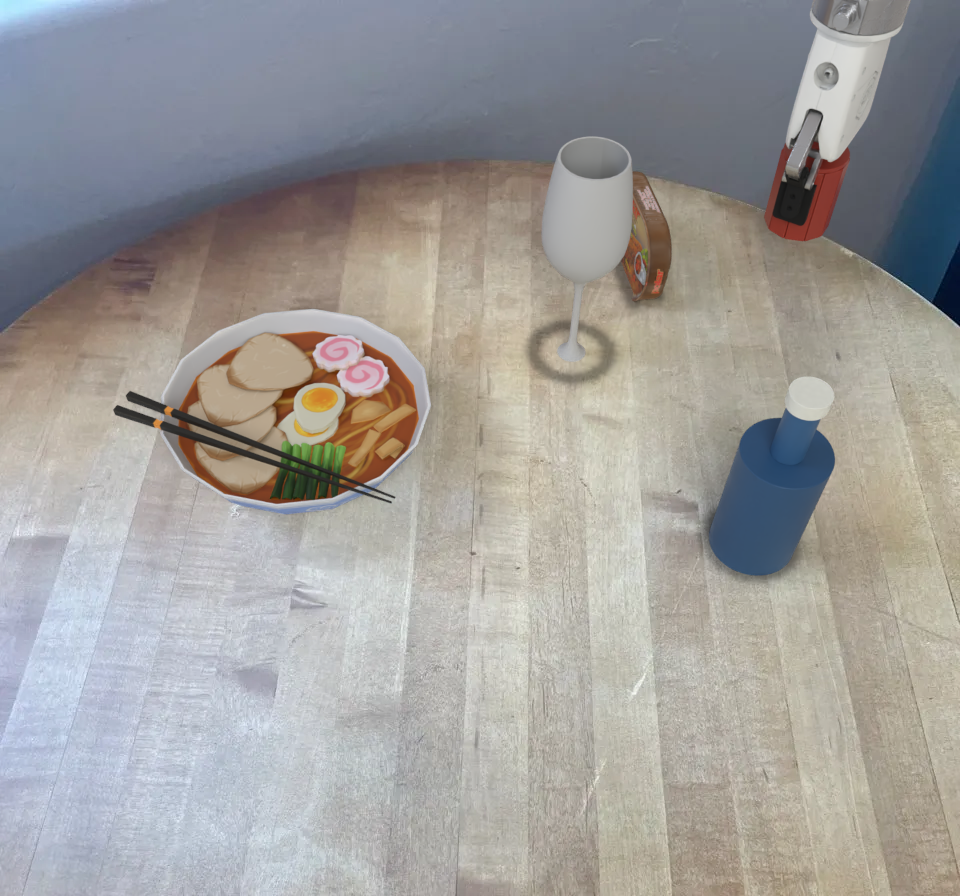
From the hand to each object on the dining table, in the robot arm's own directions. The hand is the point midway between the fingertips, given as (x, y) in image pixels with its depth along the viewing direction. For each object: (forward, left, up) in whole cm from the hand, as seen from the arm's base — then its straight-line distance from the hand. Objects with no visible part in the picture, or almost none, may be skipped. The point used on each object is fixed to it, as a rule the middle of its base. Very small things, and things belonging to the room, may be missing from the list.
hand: (802, 198), depth 96 cm
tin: (+14, +7, -9) cm, 18 cm away
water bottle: (-11, +34, -9) cm, 37 cm away
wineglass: (+13, +22, -9) cm, 27 cm away
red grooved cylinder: (0, 0, -3) cm, 3 cm away
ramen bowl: (+27, +46, -9) cm, 54 cm away
